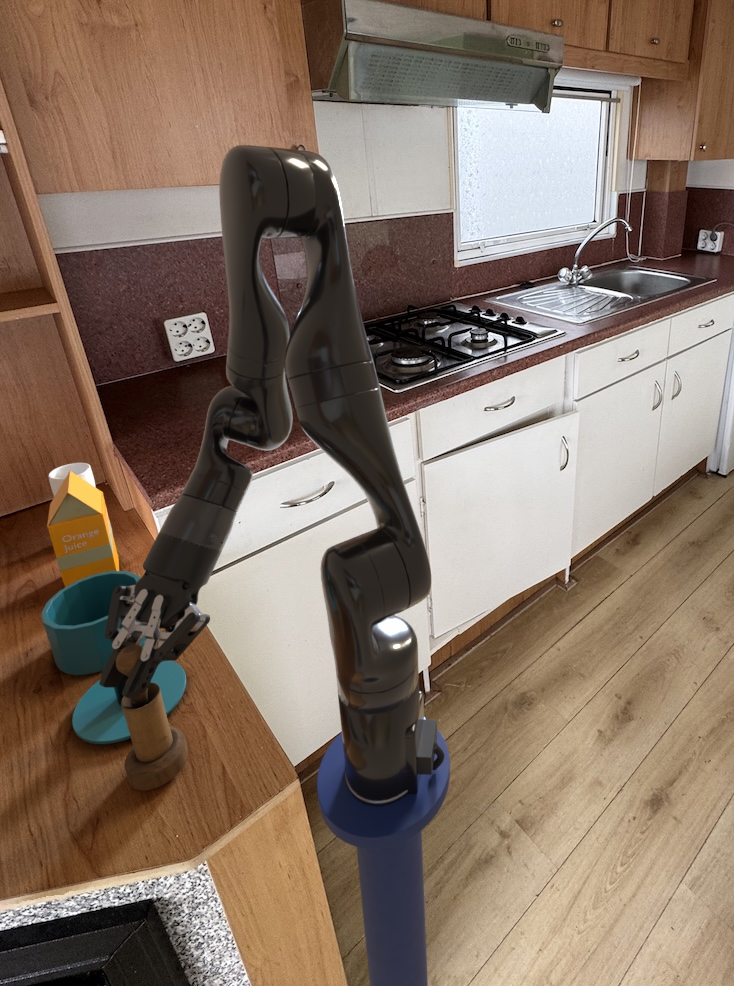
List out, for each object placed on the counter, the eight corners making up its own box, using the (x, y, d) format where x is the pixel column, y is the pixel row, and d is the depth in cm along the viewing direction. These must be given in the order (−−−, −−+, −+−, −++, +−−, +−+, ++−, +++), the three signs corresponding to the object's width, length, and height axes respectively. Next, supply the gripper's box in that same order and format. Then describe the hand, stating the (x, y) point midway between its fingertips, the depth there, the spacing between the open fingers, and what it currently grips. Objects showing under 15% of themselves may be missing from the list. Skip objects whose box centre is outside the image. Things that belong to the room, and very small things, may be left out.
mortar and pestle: (135, 747, 73) (104, 635, 67) (192, 733, 75) (167, 622, 69) (121, 798, 67) (86, 679, 61) (183, 781, 69) (155, 664, 63)
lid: (171, 649, 89) (163, 612, 87) (200, 705, 80) (191, 665, 78) (66, 699, 80) (53, 659, 78) (84, 768, 71) (71, 726, 69)
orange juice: (119, 557, 110) (96, 464, 103) (120, 584, 103) (96, 485, 96) (68, 572, 106) (41, 475, 99) (66, 600, 99) (37, 498, 92)
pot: (140, 602, 99) (131, 560, 96) (161, 644, 90) (151, 600, 87) (49, 640, 90) (36, 595, 88) (63, 690, 82) (48, 643, 79)
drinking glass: (69, 551, 111) (50, 483, 106) (63, 535, 116) (45, 469, 111) (110, 537, 115) (93, 471, 110) (103, 523, 120) (87, 458, 115)
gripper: (255, 558, 72) (189, 711, 65) (173, 532, 77) (104, 672, 70) (214, 546, 66) (136, 714, 59) (127, 519, 71) (47, 671, 64)
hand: (119, 690), depth 65 cm, fingers closed on mortar and pestle, 3 cm apart
